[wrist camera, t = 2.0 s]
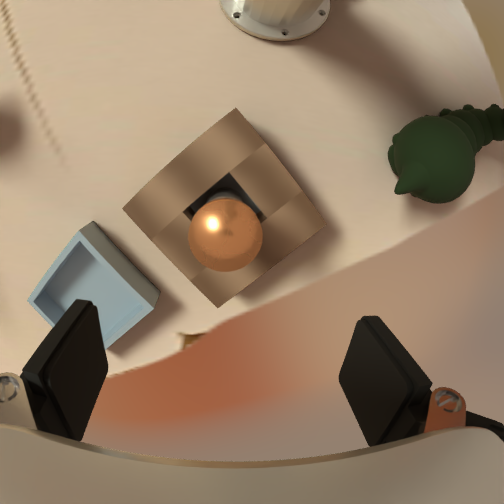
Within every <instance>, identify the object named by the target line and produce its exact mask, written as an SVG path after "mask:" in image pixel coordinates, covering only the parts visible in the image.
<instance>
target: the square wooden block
mask: <svg viewBox="0 0 504 504" xmlns="http://www.w3.org/2000/svg"><path fill="white" fill-rule="evenodd" d="M224 187H227V188H231V189H234V190H235V191H237V192H238V193H239V194H240V195H241V197H242V199H243V202H244V203H245V204H246V205H248V206H249V207H250V208H251V209H252V210H253V211H254V213H255V214H256V216H257V218H258V220H259V222H260V224H261V227H262V233H263V239H262V245H261V248H260V250H259V252H258V254H257V256H256V257H255V258H254V259H253V261H252V262H250V263H249V264H248V265H246V266H245V267H243V268H241V269H239V270H235V271H230V272H220V271H215V270H212V269H209V268H207V267H206V266H204V265H203V264H201V263H200V262H199V261H198V260H197V259H196V258H195V256H194V255H193V253H192V251H191V249H190V246H189V241H188V232H189V227H190V224H191V222H192V219H193V217H194V215H195V214H196V212H197V211H198V210H199V209H200V208H201V207H202V206H203V205H205V204H206V201H207V199H208V197H209V195H210V194H211V193H212V192H213V191H214V190H216V189H219V188H224ZM122 209H123V210H124V211H125V212H126V213H127V215H128V216H129V217H130V218H131V219H132V220H133V221H134V222H135V223H136V225H137V226H138V227H139V228H140V229H141V230H142V231H143V232H144V233H145V234H146V235H147V237H148V238H149V239H150V240H151V241H152V242H153V243H154V244H155V245H156V246H157V247H158V248H159V249H160V250H161V251H162V252H163V254H164V255H165V256H166V257H167V258H168V259H169V260H170V261H171V262H172V263H173V264H174V265H175V266H176V267H177V268H178V269H179V270H180V271H181V272H182V273H183V274H184V275H185V276H186V277H187V278H188V279H189V280H190V281H191V282H192V283H193V284H194V285H195V286H196V287H197V288H198V289H199V290H200V291H201V292H202V293H203V294H204V295H205V296H206V297H207V298H208V299H209V300H210V301H211V302H212V303H213V304H214V305H215V306H216V307H217V308H219V307H220V306H221V305H223V304H224V303H225V302H227V301H228V300H229V299H231V298H232V297H233V296H235V295H236V294H237V293H239V292H240V291H241V290H243V289H244V288H245V287H247V286H248V285H249V284H251V283H252V282H253V281H255V280H256V279H257V278H258V277H260V276H261V275H262V274H264V273H265V272H266V271H268V270H269V269H270V268H271V267H273V266H274V265H275V264H277V263H278V262H279V261H281V260H282V259H283V258H284V257H286V256H287V255H288V254H290V253H291V252H292V251H293V250H295V249H296V248H297V247H299V246H300V245H301V244H302V243H304V242H305V241H306V240H307V239H309V238H310V237H311V236H313V235H314V234H315V233H316V232H318V231H319V230H320V229H321V228H323V227H324V226H325V225H326V222H325V221H324V219H323V218H322V217H321V215H320V214H319V212H318V211H317V210H316V208H315V207H314V205H313V204H312V203H311V201H310V200H309V199H308V197H307V196H306V195H305V193H304V192H303V191H302V189H301V188H300V187H299V185H298V184H297V183H296V181H295V180H294V179H293V177H292V176H291V175H290V173H289V172H288V171H287V169H286V168H285V167H284V166H283V164H282V163H281V162H280V161H279V159H278V158H277V157H276V155H275V154H274V153H273V152H272V150H271V149H270V148H269V147H268V145H267V144H266V143H265V142H264V141H263V139H262V138H261V137H260V136H259V134H258V133H257V132H256V131H255V130H254V128H253V127H252V126H251V125H250V124H249V122H248V121H247V120H246V119H245V118H244V116H243V115H242V114H241V113H240V112H239V111H238V109H237V108H235V109H233V110H232V111H231V112H230V113H228V114H227V115H226V116H224V117H223V118H222V119H221V120H219V121H218V122H217V123H216V124H214V125H213V126H212V127H211V128H209V129H208V130H207V131H206V132H204V133H203V134H202V135H201V136H200V137H198V138H197V139H196V140H195V141H194V142H192V143H191V144H190V145H189V146H188V147H187V148H185V149H184V150H183V151H182V152H181V153H180V154H179V155H177V156H176V157H175V158H174V159H173V160H172V161H171V162H170V163H169V164H167V165H166V166H165V167H164V168H163V169H162V170H161V171H160V172H159V173H158V174H157V175H156V176H154V177H153V178H152V179H151V180H150V181H149V182H148V183H147V184H146V185H145V186H144V187H143V188H142V189H141V190H140V191H139V192H138V193H137V194H136V195H135V196H134V197H133V198H132V199H131V200H130V201H129V202H128V203H127V204H126V205H125V206H124V207H123V208H122Z"/></svg>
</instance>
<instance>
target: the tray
mask: <svg viewBox="0 0 504 504" xmlns="http://www.w3.org/2000/svg"><path fill="white" fill-rule="evenodd" d="M159 295H160V291H159V290H158V289H157V288H156V287H155V286H154V285H153V284H152V283H151V282H150V281H149V280H148V279H147V278H146V277H145V276H144V275H143V274H142V273H141V272H140V271H139V270H138V269H137V268H136V267H135V266H134V265H133V264H132V263H131V262H130V261H129V259H128V258H127V257H126V256H125V255H124V254H123V253H122V252H121V251H120V250H119V249H118V248H117V247H116V246H115V245H114V244H113V242H112V241H111V240H110V239H109V238H108V237H107V236H106V235H105V234H104V233H103V231H102V230H101V229H100V228H99V227H98V226H97V225H96V224H95V222H94V221H92V222H91V223H89V224H88V225H86V226H85V227H83V228H82V229H80V230H79V231H78V232H77V233H76V234H75V236H74V237H73V238H72V239H71V241H70V242H69V243H68V244H67V246H66V247H65V248H64V249H63V251H62V252H61V253H60V255H59V256H58V257H57V259H56V260H55V261H54V263H53V264H52V265H51V267H50V268H49V269H48V271H47V272H46V274H45V275H44V276H43V278H42V279H41V281H40V282H39V283H38V285H37V286H36V288H35V289H34V291H33V292H32V294H31V295H30V297H29V298H28V300H27V301H28V302H29V303H30V304H31V305H32V306H33V308H34V309H35V310H36V311H37V312H38V313H39V314H40V315H41V316H42V317H43V318H44V319H45V320H46V321H47V322H48V323H49V324H50V325H51V326H52V327H54V326H55V324H56V323H57V322H58V321H59V319H60V318H61V317H62V316H63V314H64V313H65V312H66V311H67V309H68V308H69V307H70V306H71V305H72V303H73V302H74V301H75V300H76V299H82V300H90V301H92V303H93V305H96V306H97V309H98V314H99V321H100V326H101V332H102V337H103V342H104V347H105V350H106V349H107V348H108V347H109V346H110V345H112V344H113V343H114V342H115V341H116V340H117V339H119V338H120V337H121V336H122V335H123V334H125V333H126V332H127V331H128V330H129V329H130V328H132V327H133V326H134V325H135V324H136V323H138V322H139V321H140V320H141V319H142V318H144V317H145V316H146V315H147V314H148V313H150V312H151V311H152V310H153V309H154V308H155V305H156V303H157V300H158V297H159Z"/></svg>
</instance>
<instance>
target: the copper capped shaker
mask: <svg viewBox="0 0 504 504" xmlns="http://www.w3.org/2000/svg"><path fill="white" fill-rule="evenodd" d="M262 239H263V233H262V227H261V224H260V222H259V220H258V218H257V216H256V214H255V213H254V211H253V210H252V209H251V208H250V207H249V206H248V205H246V204H245V203H244V202H243V199H242V197H241V195H240V194H239V193H238V192H237V191H235V190H234V189H231V188H227V187H224V188H219V189H216V190H214V191H213V192H212V193H211V194H210V195H209V197H208V199H207V201H206V204H205V205H203V206H202V207H201V208H200V209H199V210H198V211H197V212H196V214H195V215H194V217H193V219H192V222H191V224H190V227H189V232H188V241H189V246H190V249H191V251H192V253H193V255H194V256H195V258H196V259H197V260H198V261H199V262H200V263H201V264H203V265H204V266H206V267H207V268H209V269H212V270H215V271H220V272H230V271H235V270H239V269H241V268H243V267H245V266H246V265H248V264H249V263H250V262H252V261H253V259H254V258H255V257H256V256H257V254H258V252H259V250H260V248H261V245H262Z"/></svg>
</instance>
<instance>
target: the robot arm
mask: <svg viewBox="0 0 504 504" xmlns="http://www.w3.org/2000/svg"><path fill="white" fill-rule="evenodd" d="M220 5H221V8H222V10H223V12H224V14H225V15H226V17H227V18H228V19H229V20H230V21H231V22H232V23H233V24H234V25H235V26H237V27H238V28H239V29H241V30H242V31H244V32H246V33H248V34H250V35H253V36H256V37H259V38H262V39H267V40H274V41H289V40H296V39H300V38H303V37H305V36H308V35H310V34H312V33H313V32H315V31H316V30H318V29H319V27H320V26H321V25H322V24H323V23H324V22H325V20H326V19H327V17H328V14H329V12H330V0H220ZM235 17H238V19H237V18H235ZM282 33H284V34H286V36H285V35H283V34H282ZM22 371H23V372H22V374H21V375H20V377H19V376H18V375H16V374H14V373H8V372H6V373H1V374H0V504H504V425H503V424H502V423H500V422H497V421H495V420H492V419H489V418H486V417H483V416H480V415H477V414H474V413H472V412H469V411H466V403H465V400H464V398H463V397H462V396H461V395H460V393H458V392H457V391H455V390H453V389H451V388H446V387H439V388H437V389H435V390H434V391H433V392H432V391H431V390H430V387H431V386H432V382H431V381H430V379H429V378H428V377H427V375H426V374H425V373H424V372H423V370H422V369H421V368H420V366H419V365H418V364H417V363H416V361H415V360H414V359H413V358H412V356H411V355H410V354H409V353H408V351H407V350H406V349H405V348H404V347H403V345H402V344H401V343H400V342H399V340H398V339H397V338H396V337H395V335H394V334H393V333H392V332H391V331H390V329H389V328H388V327H387V326H386V325H385V323H384V322H383V321H382V320H381V319H380V317H378V316H363V317H362V318H361V320H358V322H357V323H356V326H355V330H354V333H353V336H352V339H351V342H350V345H349V348H348V351H347V354H346V356H345V359H344V362H343V365H342V367H341V370H340V373H339V382H340V385H341V387H342V389H343V391H344V393H345V395H346V398H347V399H348V402H349V404H350V406H351V408H352V411H353V413H354V415H355V417H356V419H357V421H358V424H359V426H360V428H361V430H362V432H363V435H364V437H365V439H366V441H367V443H368V445H369V446H370V447H368V448H363V449H358V450H353V451H348V452H342V453H336V454H329V455H323V456H316V457H307V458H297V459H286V460H271V461H244V462H233V461H201V460H186V459H174V458H165V457H157V456H149V455H143V454H136V453H131V452H125V451H120V450H115V449H110V448H105V447H100V446H96V445H92V444H87V443H83V442H79V441H81V440H82V438H83V435H84V432H85V429H86V427H87V424H88V421H89V418H90V416H91V413H92V410H93V408H94V405H95V403H96V400H97V397H98V395H99V392H100V390H101V387H102V385H103V382H104V380H105V378H106V375H107V372H108V361H107V357H106V352H105V347H104V342H103V337H102V332H101V326H100V321H99V314H98V309H97V306H96V305H93V303H92V301H90V300H82V299H76V300H75V301H74V302H73V303H72V305H71V306H70V307H69V308H68V309H67V311H66V312H65V313H64V314H63V316H62V317H61V318H60V319H59V321H58V322H57V323H56V324H55V326H54V327H53V328H52V330H51V331H50V332H49V333H48V335H47V336H46V337H45V339H44V340H43V341H42V343H41V344H40V345H39V347H38V348H37V350H36V351H35V352H34V354H33V355H32V356H31V358H30V359H29V361H28V362H27V364H26V365H25V366H24V368H23V369H22Z"/></svg>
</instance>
